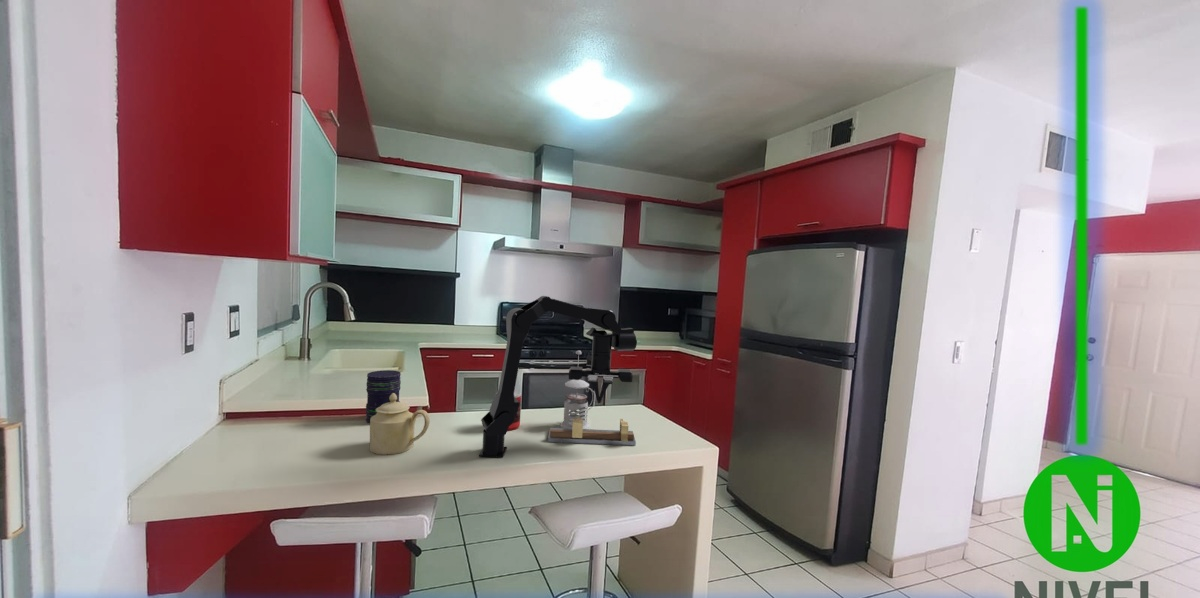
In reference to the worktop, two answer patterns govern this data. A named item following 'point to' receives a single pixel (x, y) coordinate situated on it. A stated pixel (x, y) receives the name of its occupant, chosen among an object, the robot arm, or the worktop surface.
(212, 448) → the worktop surface
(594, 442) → the plate
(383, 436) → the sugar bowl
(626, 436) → the beam
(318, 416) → the worktop surface
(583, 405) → the french press
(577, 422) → the slider
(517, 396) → the canned food
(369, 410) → the storage jar
